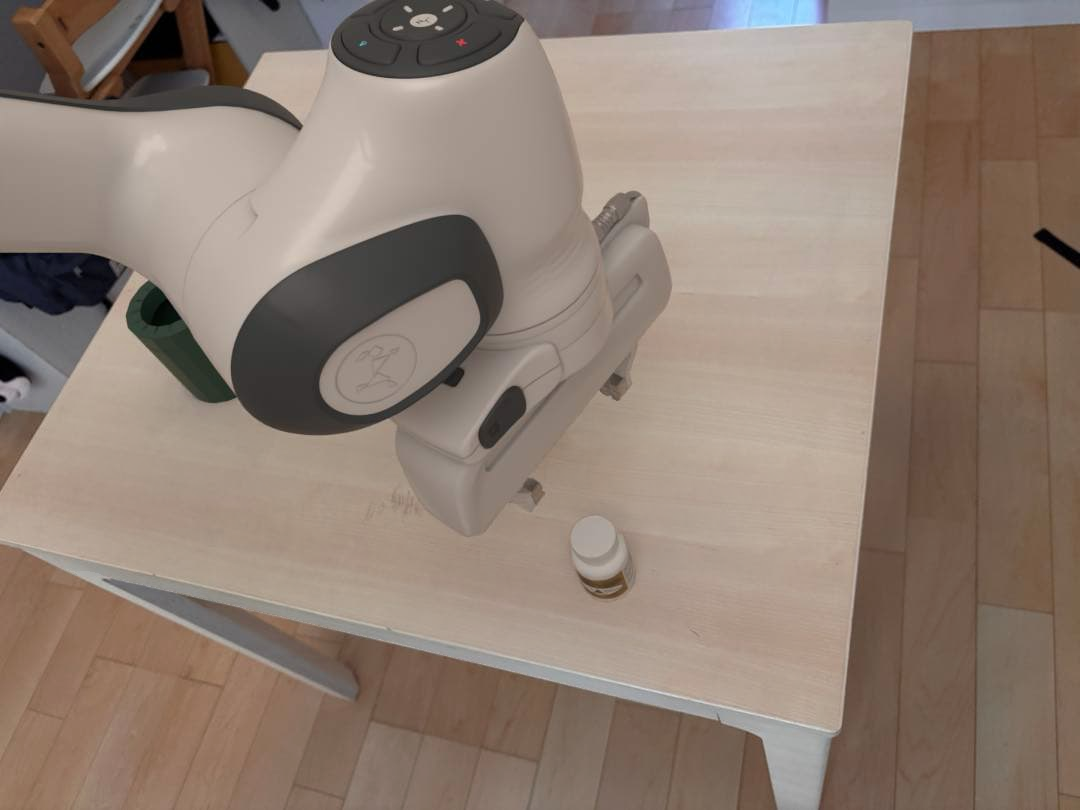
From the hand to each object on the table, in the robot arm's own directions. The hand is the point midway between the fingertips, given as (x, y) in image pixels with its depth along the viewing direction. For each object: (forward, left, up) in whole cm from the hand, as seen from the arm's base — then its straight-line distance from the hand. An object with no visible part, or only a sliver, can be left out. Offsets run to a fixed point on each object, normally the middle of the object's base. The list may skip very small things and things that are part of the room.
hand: (573, 442), depth 55 cm
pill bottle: (-1, 0, -19) cm, 19 cm away
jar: (-8, +48, -19) cm, 52 cm away
